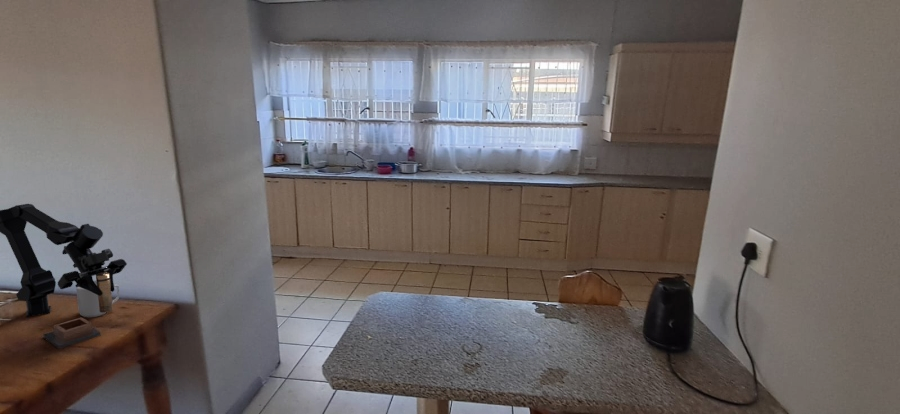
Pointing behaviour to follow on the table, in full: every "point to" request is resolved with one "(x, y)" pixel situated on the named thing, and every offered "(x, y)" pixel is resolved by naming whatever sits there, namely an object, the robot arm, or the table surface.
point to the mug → (90, 302)
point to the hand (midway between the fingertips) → (107, 293)
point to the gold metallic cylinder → (104, 292)
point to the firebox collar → (71, 332)
